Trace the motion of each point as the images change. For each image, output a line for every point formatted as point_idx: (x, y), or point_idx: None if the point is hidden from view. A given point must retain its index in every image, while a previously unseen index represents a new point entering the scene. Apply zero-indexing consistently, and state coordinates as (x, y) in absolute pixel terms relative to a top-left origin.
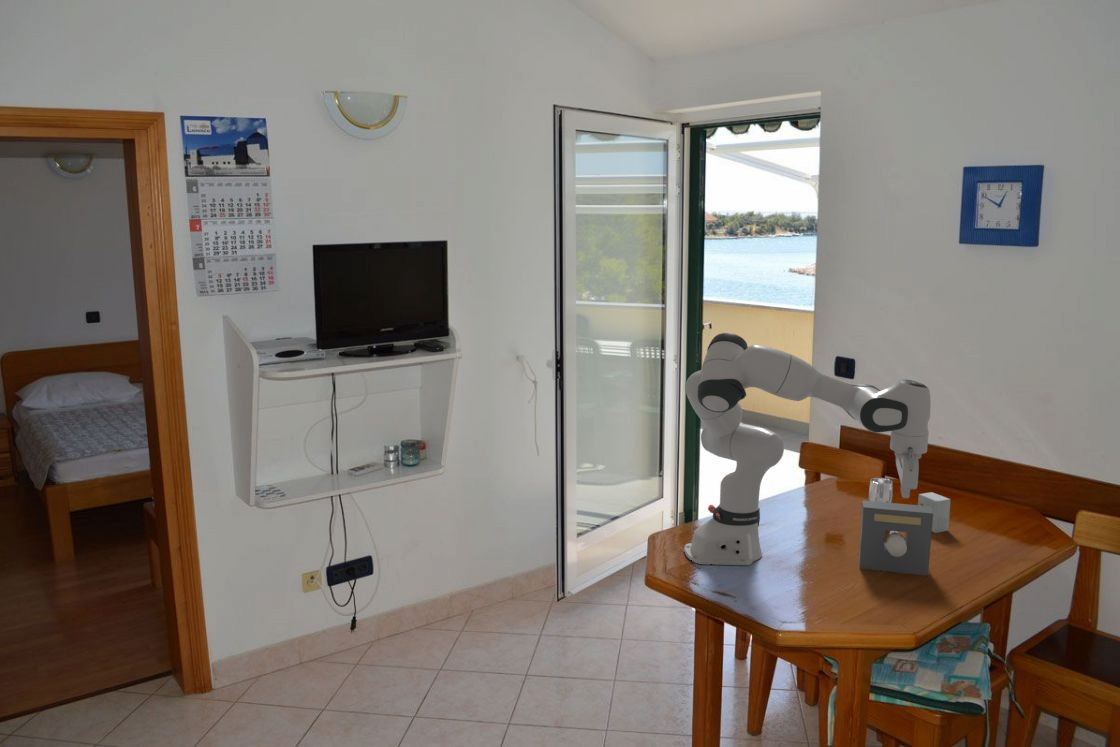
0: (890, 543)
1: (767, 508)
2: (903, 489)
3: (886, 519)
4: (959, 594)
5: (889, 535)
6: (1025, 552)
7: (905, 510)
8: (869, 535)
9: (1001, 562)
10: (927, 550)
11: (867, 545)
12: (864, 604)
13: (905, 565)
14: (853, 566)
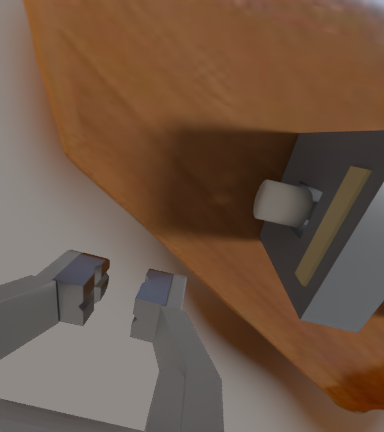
0: (268, 187)
1: None
2: (3, 291)
3: (337, 201)
4: (196, 252)
5: (307, 197)
6: (322, 363)
7: (339, 264)
8: (330, 152)
9: (295, 331)
10: (271, 254)
11: (317, 147)
12: (144, 100)
13: None
14: (310, 123)
